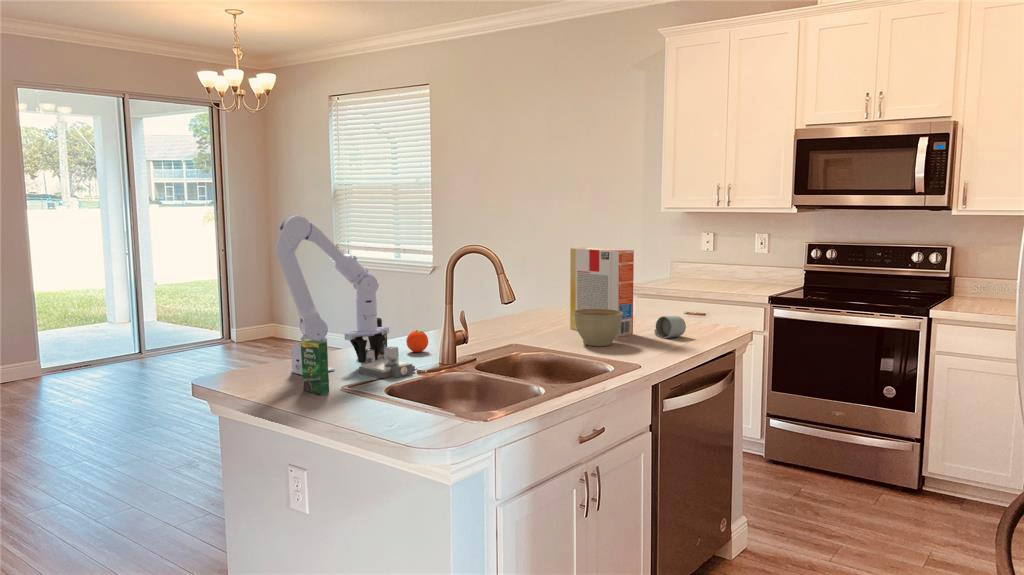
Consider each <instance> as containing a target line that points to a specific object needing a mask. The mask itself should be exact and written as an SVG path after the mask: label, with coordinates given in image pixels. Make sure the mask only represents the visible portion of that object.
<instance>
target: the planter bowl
mask: <svg viewBox="0 0 1024 575" xmlns="http://www.w3.org/2000/svg"><path fill="white" fill-rule="evenodd" d="M574 316H575V324H576V328H577V330H576V331H577V332H578V334H579V336H580V337H581V339H582V342H583V344H584V345H587V346H591V347H592V346H593V347H594V346H595V347H606V346H612V344H613V341H614V340H615V338H617V337H616V335H617V334H618V332H619V330H620V327H621V323H622V316H623V312H621V311H618V310H612V309H580V310H575V311H574Z"/></svg>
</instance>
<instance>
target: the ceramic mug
mask: <svg viewBox="0 0 1024 575" xmlns="http://www.w3.org/2000/svg"><path fill="white" fill-rule="evenodd" d="M686 329H687V326H686V321H685V320H684V318H683V317H680V316H678V315H664V316H663V315H662V316H660V317H658V318H657V320H656V322H655V329H653V332H654V335H656V336H659V337H660V338H661V339H670V338H671V339H672V338H677V337H678V338H679V337H681V336H683V334H684V333H685V332H686ZM657 334H658V335H657Z"/></svg>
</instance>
